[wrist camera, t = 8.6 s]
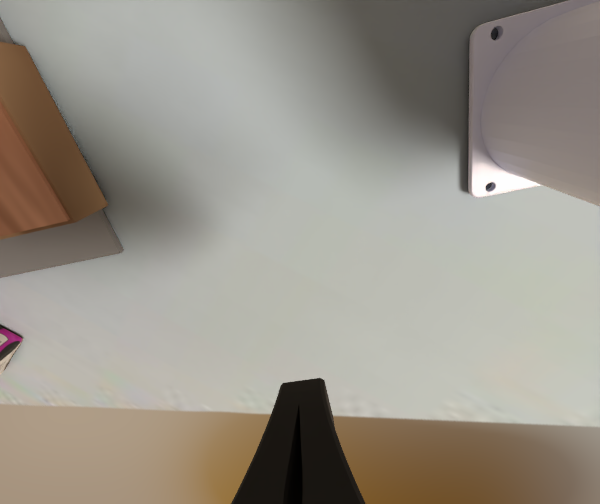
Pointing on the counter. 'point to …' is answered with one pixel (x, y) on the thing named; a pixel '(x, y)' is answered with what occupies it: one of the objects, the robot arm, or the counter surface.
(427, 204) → the counter surface
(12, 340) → the candy bar box
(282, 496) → the robot arm
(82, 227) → the mat
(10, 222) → the wooden block
